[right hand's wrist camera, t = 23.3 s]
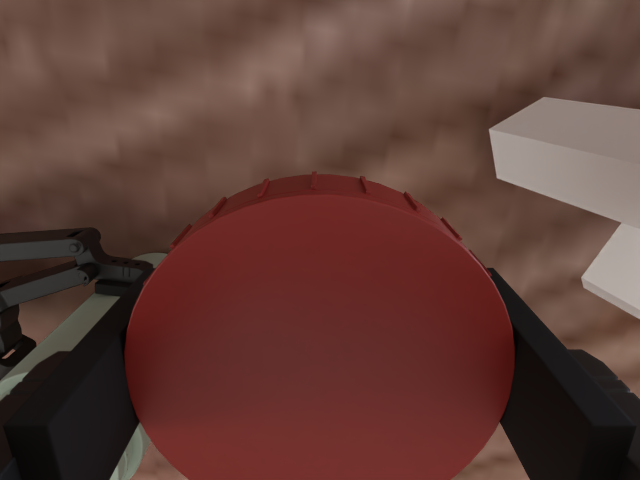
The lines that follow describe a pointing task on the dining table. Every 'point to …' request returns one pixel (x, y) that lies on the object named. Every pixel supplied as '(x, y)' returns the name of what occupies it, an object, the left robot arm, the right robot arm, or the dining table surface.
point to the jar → (66, 340)
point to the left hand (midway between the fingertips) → (194, 348)
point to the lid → (319, 339)
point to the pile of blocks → (582, 178)
